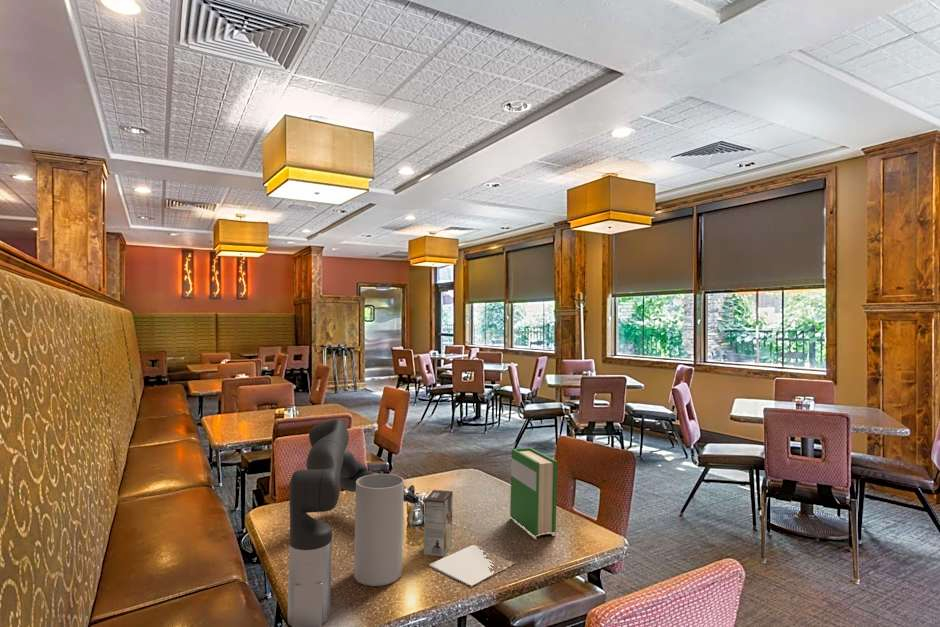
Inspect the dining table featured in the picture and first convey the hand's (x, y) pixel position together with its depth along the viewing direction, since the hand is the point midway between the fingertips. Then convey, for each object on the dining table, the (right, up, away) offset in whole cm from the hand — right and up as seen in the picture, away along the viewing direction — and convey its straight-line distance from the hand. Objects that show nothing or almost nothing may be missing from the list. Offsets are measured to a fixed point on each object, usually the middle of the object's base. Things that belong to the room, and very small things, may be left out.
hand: (417, 500), depth 161 cm
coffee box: (+7, -12, -7) cm, 16 cm away
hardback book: (+37, -13, +11) cm, 41 cm away
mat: (+17, -12, -16) cm, 27 cm away
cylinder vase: (-8, -12, -23) cm, 27 cm away
